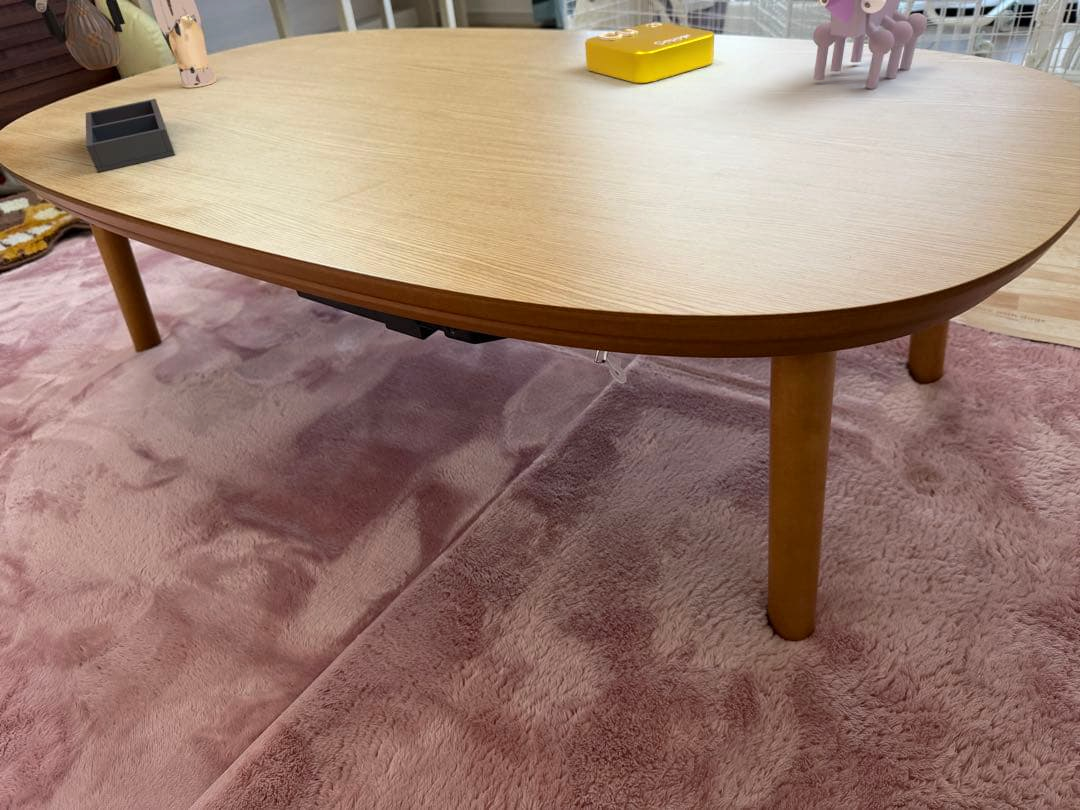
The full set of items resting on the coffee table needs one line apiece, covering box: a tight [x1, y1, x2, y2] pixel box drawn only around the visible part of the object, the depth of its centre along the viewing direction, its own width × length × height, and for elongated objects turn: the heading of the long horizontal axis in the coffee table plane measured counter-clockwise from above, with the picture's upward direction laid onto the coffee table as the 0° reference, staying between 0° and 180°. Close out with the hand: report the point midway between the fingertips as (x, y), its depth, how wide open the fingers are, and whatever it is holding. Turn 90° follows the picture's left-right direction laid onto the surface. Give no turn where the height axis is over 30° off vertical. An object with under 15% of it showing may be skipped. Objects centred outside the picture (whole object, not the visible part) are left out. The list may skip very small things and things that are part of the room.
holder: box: [85, 98, 176, 173], centre depth 116 cm, size 10×19×4 cm, turn 26°
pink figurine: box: [812, 0, 928, 90], centre depth 103 cm, size 20×11×14 cm, turn 135°
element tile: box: [584, 21, 715, 84], centre depth 123 cm, size 15×15×5 cm
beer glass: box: [150, 0, 218, 89], centre depth 140 cm, size 7×7×15 cm
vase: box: [62, 0, 123, 71], centre depth 112 cm, size 7×7×9 cm
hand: (91, 35), depth 112 cm, fingers closed on vase, 6 cm apart
